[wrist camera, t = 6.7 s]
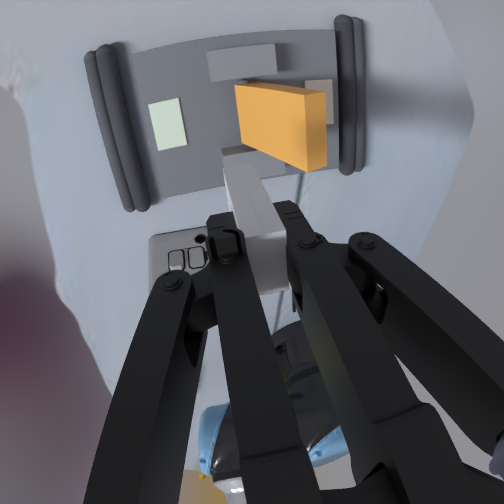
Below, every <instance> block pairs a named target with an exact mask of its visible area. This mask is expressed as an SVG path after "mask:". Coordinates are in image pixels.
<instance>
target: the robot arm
mask: <svg viewBox="0 0 504 504" xmlns="http://www.w3.org/2000/svg"><path fill="white" fill-rule="evenodd" d="M223 174H224V180H225V186H226V193H227V199H228V205H229V211H230V212H226V213H220V214H215V215H210V217H209V218H208V220H207V222H206V225H207V234H208V236H207V237H206V239H205V245H206V249H207V253H208V257H209V263H208V264H207V265H206V266H205V267H204V268H203V269H202V270H200V271H198V272H196V273H194V274H192V275H190V274H189V273H188V272H186V271H184V270H178V269H177V270H171V271H168V272H166V273H163V274H162V275H161V276H159V277H158V278H157V280H156V281H155V283H154V285H153V287H152V290H151V292H150V295H149V298H148V300H147V303H146V305H145V308H144V310H143V313H142V316H141V318H140V321H139V323H138V326H137V329H136V332H135V334H134V337H133V340H132V342H131V345H130V348H129V351H128V354H127V356H126V359H125V362H124V365H123V368H122V371H121V374H120V377H119V380H118V383H117V386H116V389H115V392H114V395H113V398H112V401H111V404H110V407H109V410H108V414H107V417H106V420H105V424H104V427H103V431H102V434H101V437H100V440H99V444H98V447H97V451H96V455H95V458H94V462H93V466H92V469H91V473H90V477H89V481H88V485H87V489H86V494H85V498H84V502H83V504H178V501H179V494H180V489H181V482H182V476H183V470H184V464H185V457H186V451H187V445H188V439H189V434H190V428H191V422H192V416H193V410H194V405H195V399H196V394H197V388H198V382H199V377H200V372H201V366H202V361H203V355H204V350H205V345H206V340H207V334H208V329H209V328H211V327H213V326H215V325H218V328H219V335H220V342H221V348H222V355H223V361H224V368H225V374H226V380H227V386H228V392H229V398H230V402H228V403H227V404H222V405H217V406H211V407H208V408H206V409H205V410H204V411H203V412H202V414H201V418H200V423H199V439H198V443H199V456H200V467H201V471H202V473H203V474H204V475H208V476H211V475H212V478H213V483H214V486H216V487H217V488H219V489H220V490H222V491H223V492H224V493H225V494H226V499H227V504H504V481H502V480H500V479H498V478H495V477H493V476H491V475H489V474H487V473H484V472H482V471H480V470H478V469H476V468H474V467H472V466H469V465H467V464H465V463H463V462H462V461H461V459H460V457H459V454H458V452H457V450H456V448H455V446H454V444H453V442H452V440H451V437H450V436H449V433H448V431H447V429H446V427H445V425H444V423H443V421H442V419H441V417H440V415H439V414H438V412H437V411H436V409H435V408H434V407H433V406H432V405H430V403H423V402H421V401H420V400H419V399H418V398H417V396H416V394H415V393H414V391H413V389H412V387H411V385H410V383H409V381H408V379H407V377H406V375H405V373H404V371H403V370H402V368H401V366H400V364H399V362H398V360H397V358H396V357H395V355H396V356H397V357H398V358H399V359H400V361H401V362H402V363H403V364H404V365H405V366H406V367H407V368H408V369H409V371H410V372H411V373H412V374H413V375H414V376H415V377H416V378H417V379H418V380H419V382H420V383H421V384H422V385H423V386H424V387H425V388H426V390H427V391H428V392H429V393H430V394H431V395H432V396H433V397H434V399H435V400H436V401H437V402H438V403H439V404H440V405H441V407H442V408H443V409H444V410H445V411H446V412H447V414H448V415H449V416H450V417H451V418H452V419H453V421H454V422H455V423H456V424H457V425H458V426H459V428H460V429H461V430H462V431H463V432H464V433H465V435H466V436H467V437H468V438H469V439H470V440H471V441H472V442H473V443H474V444H475V445H477V446H478V447H479V448H480V449H481V450H483V451H484V452H485V453H487V454H489V455H490V456H492V457H493V459H492V460H491V461H490V464H489V470H490V472H491V473H492V474H494V475H500V476H501V477H502V478H503V479H504V341H503V340H502V339H500V337H499V336H497V335H496V334H495V333H494V332H493V331H492V330H491V329H490V328H489V327H488V326H487V325H486V324H485V323H483V322H482V321H481V320H480V319H479V318H478V317H477V316H476V315H475V314H474V313H472V312H471V311H470V310H469V309H468V308H467V307H466V306H464V305H463V304H462V303H461V302H460V301H459V300H458V299H457V298H455V297H454V296H453V295H452V294H450V293H449V292H448V291H447V290H446V289H445V288H444V287H442V286H441V285H440V284H439V283H438V282H436V281H435V280H434V279H432V277H430V276H429V275H428V274H427V273H426V272H424V271H423V270H422V269H421V268H419V267H418V266H417V265H416V264H414V263H413V262H412V261H411V260H409V259H408V258H407V257H406V256H404V255H403V254H402V253H401V252H399V251H398V250H397V249H395V248H394V247H393V246H391V245H390V244H389V243H388V242H386V241H385V240H384V239H382V238H381V237H380V236H378V235H376V234H373V233H369V232H360V233H355V234H354V235H352V236H351V237H350V239H349V242H348V244H336V243H329V242H328V241H327V240H326V238H325V237H324V236H323V235H321V234H319V233H316V232H314V231H313V229H312V228H311V226H310V225H309V223H308V221H307V220H306V218H305V217H304V215H303V213H302V212H301V210H300V209H299V207H298V205H297V204H295V203H293V202H291V201H290V200H287V201H282V202H276V203H272V201H271V200H270V198H269V196H268V194H267V192H266V190H265V188H264V186H263V184H262V182H261V180H260V178H259V176H258V174H257V172H256V170H255V169H254V167H253V165H252V163H249V164H243V165H237V166H232V167H226V168H223ZM289 282H290V284H291V287H292V305H293V312H296V309H297V311H298V314H299V317H300V319H301V321H299V322H296V323H293V324H290V325H288V326H286V327H284V328H282V329H281V330H279V331H277V332H276V333H275V334H274V335H272V336H271V335H270V331H269V328H268V324H267V321H266V317H265V314H264V310H263V307H262V304H261V300H260V297H259V296H260V295H265V294H269V293H274V292H279V291H284V290H288V289H289ZM378 284H379V285H380V286H381V287H382V288H383V289H382V288H380V287H379V286H378ZM394 354H395V355H394ZM348 453H350V457H351V468H352V473H353V476H354V479H355V482H356V486H355V487H352V488H346V489H333V490H320V489H319V486H318V483H317V479H316V476H315V473H314V469H313V467H319V466H322V465H325V464H327V463H330V462H332V461H334V460H337V459H339V458H341V457H343V456H345V455H346V454H348Z"/></svg>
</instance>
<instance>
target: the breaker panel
mask: <svg viewBox="0 0 504 504" xmlns="http://www.w3.org/2000/svg"><path fill="white" fill-rule="evenodd" d="M131 56H132V61H133V67H134V72H135V77H136V82H137V87H138V92H139V97H140V101H141V106H142V111H143V115H144V120H145V124H146V129H147V133H148V137H149V141H150V146H151V150H152V154H153V158H154V162H155V166H156V170H157V174H158V178H159V182H160V186H161V189H162V193H163V197H164V198H167V197H171V196H176V195H181V194H186V193H190V192H195V191H200V190H206V189H211V188H216V187H221V186H225V180H224V174H223V168H226V167H232V166H237V165H243V164H249V163H252V165H253V167H254V169H255V170H256V172H257V174H258V176H259V178H260V180H261V179H267V178H273V177H279V176H286V175H292V174H299V173H306V172H305V171H303V170H301V169H299V168H297V167H294V166H292V165H290V164H288V163H286V162H284V161H282V160H279V159H277V158H275V157H273V156H271V155H268V154H266V153H264V152H262V151H259V150H257V149H255V148H252V147H250V146H248V145H245V144H243V143H242V141H241V133H240V125H239V117H238V110H237V102H236V94H235V87H234V85H236V84H237V81H238V80H243V79H250V82H262V83H270V84H278V85H286V86H292V87H299V88H305V89H311V90H317V91H322V92H325V100H326V131H327V166H326V167H323V168H320V169H317V170H314V171H320V170H328V169H335V168H339V110H338V79H337V59H336V43H335V30H288V31H269V32H256V33H245V34H236V35H228V36H220V37H213V38H206V39H200V40H194V41H189V42H183V43H178V44H173V45H168V46H164V47H159V48H155V49H151V50H147V51H143V52H139V53H135V54H131ZM311 172H313V171H311Z"/></svg>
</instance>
